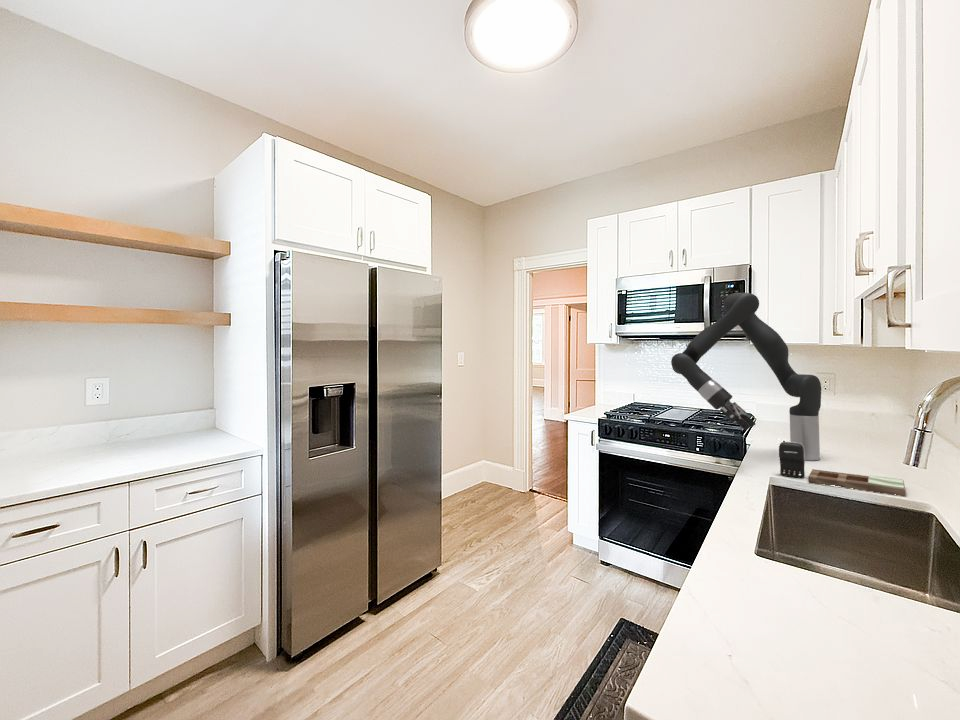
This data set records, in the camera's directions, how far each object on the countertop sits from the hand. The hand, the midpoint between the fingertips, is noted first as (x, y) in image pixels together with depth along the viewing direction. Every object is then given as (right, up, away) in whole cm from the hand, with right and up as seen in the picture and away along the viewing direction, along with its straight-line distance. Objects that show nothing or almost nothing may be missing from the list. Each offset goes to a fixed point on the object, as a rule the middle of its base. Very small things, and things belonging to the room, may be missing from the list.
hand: (750, 427), depth 152 cm
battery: (+9, -16, -8) cm, 20 cm away
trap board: (+20, -15, -19) cm, 32 cm away
